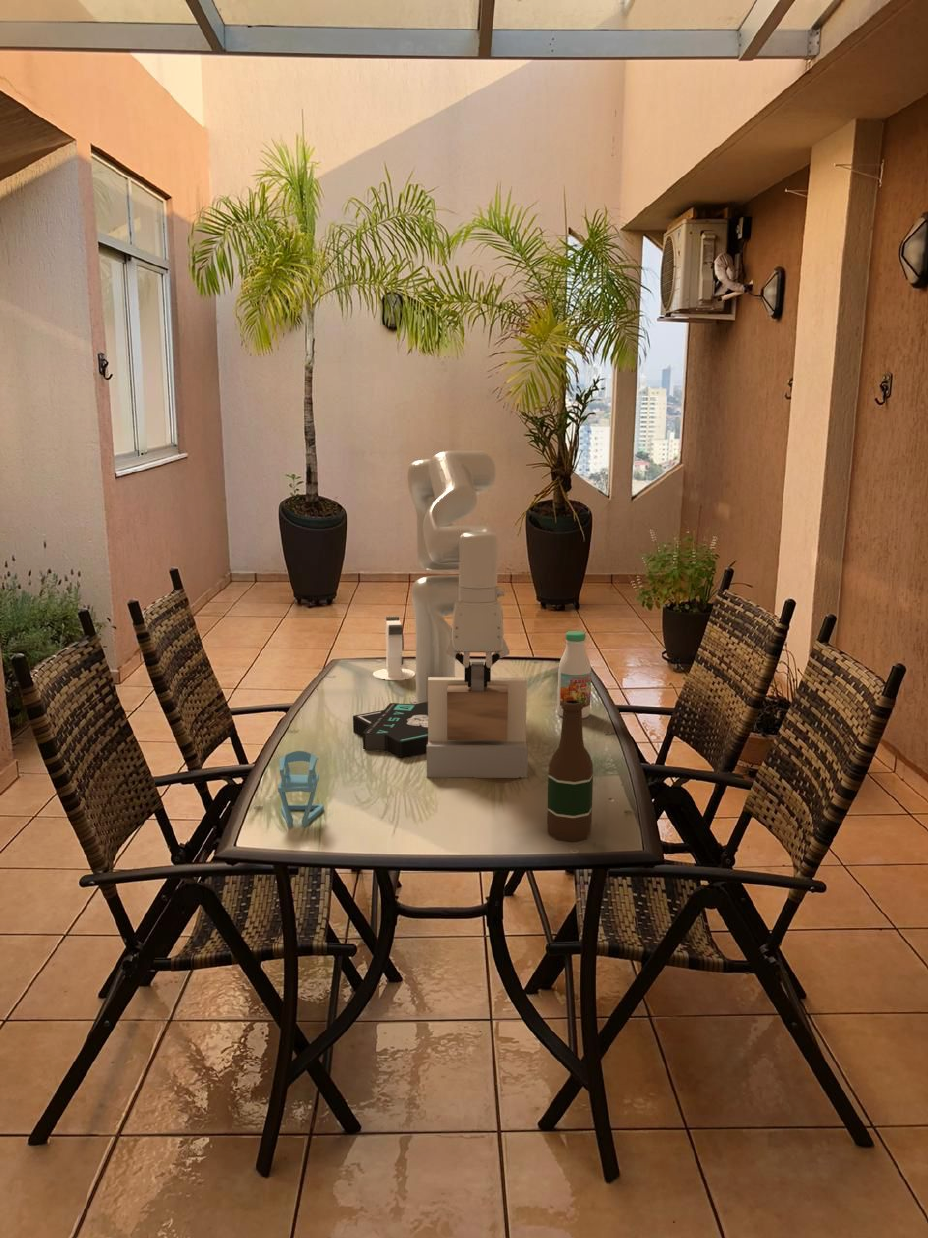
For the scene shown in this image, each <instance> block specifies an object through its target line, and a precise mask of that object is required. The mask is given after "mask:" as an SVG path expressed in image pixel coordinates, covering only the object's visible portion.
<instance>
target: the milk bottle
mask: <svg viewBox="0 0 928 1238" xmlns="http://www.w3.org/2000/svg"><path fill="white" fill-rule="evenodd" d="M586 635H587V634H586V633H585V632H584V631H580V630H570V631H569V630H568V631H567V632H566V633H565V642H566V645H565V649H564V652H563V654H562V656H561V658H560V661H559V663H558V664H559V665H558V671H557V672H558V673H557V701H556V702H557V704H556V705H557V709H556V711H557V712H556V713H557V715H558V716H560V717H562V718H563V709H562V708H561V707H562V704H563V702H564V701H565V700H570V699H573V700H578V701H581V702H582V703H583V709H582V719H585V718H587V717H589V716H590V713H591V692H592V689H591V688H592V686H591V685H592V667H591V661H590V659H589V656H588V654H587V652H586V649H585V648H586V647H585V643H586Z"/></svg>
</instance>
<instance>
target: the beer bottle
mask: <svg viewBox="0 0 928 1238" xmlns="http://www.w3.org/2000/svg"><path fill="white" fill-rule="evenodd" d="M561 708H562V709H563V717H562V718H561V732H560V733H561V734H560V740H559V745H558V748H557V749H556V750H555V751H554V753H553V755H552V757H551V760H550V761H549V765H548V774H547V775H548V776H547V812H546V813H547V814H546V815H547V818H546V819H547V821H546V824H547V833H548V835H549V836H551V837H552V838H553V839H555V840H556V841H563V842H570V843H576V842H579V841H584V840H587V838H588V837H589V835H590V833H591V831H592V822H593V821H592V819H593V816H592V815H593V791H594V790H593V788H594V785H593V784H594V767H593V764H594V763H593V761H592V757H591V754H590V753H589V752H588V750H587V749H586V747H585V743H584V739H583V738H584V737H583V735H584V734H583V718H582V709H583V703H582V702H581V701H578V700H573V699H570V700H565V701H564V702H563V704H562V707H561Z"/></svg>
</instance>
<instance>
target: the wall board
mask: <svg viewBox="0 0 928 1238" xmlns="http://www.w3.org/2000/svg"><path fill="white" fill-rule="evenodd" d="M464 680H465V676H464V677H463V676H462V677H461V676H460V677H456V676H455V677H428V745H427V753H426V778H450V777H474V778H475V779H476V778H479V779H481V778H485V779H486V778H487V779H488V778H490V779H528V763H529V762H528V757H529V756H528V755H529V749H528V748H529V747H528V746H529V745H527V701H528V700H527V697H528V696H527V694H528V692H527V690H528V689H527V688H528V687H527V686H528V684H527V683H528V681H527V680H528V678H527V677H491V682H487V685H507V688H508V730H507V740H447V688H448V685H468V682H465V681H464ZM519 777H521V778H519ZM524 777H526V778H524Z"/></svg>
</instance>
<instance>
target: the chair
mask: <svg viewBox="0 0 928 1238" xmlns="http://www.w3.org/2000/svg"><path fill="white" fill-rule="evenodd" d="M318 760H319V758H318V756H316V755H315V754H313V753H310V752H308V751H304V750H296V751H291V752H289V753H287V754H285V755H283V756H282V757H280V758H279V759H278V764H279V765H278V766H279V775H280V778H281V779H280V783H279V785H278V787H277V790H278V791H277V792H278V793H279V795H280V796H279V797H280V799H281V803H282V804H281V805H280V808H281V809H280V810H281V814H282V815H283V818H284V820H285V822H286V825H287V827H288V828H293V826H294V820H293V816H292V813H291V811H303V810H304V812H303V815H302V819H301V827H302V828H307V827H308V825H309V824H311V822H312V821H313V820H314V819H316V818H317V817H318V816H319V815H320V814H321V813H322V812H323V811H324V804H321V803H320V804H313V803H314V799H315V795H316V791H317V786H318V782H319V779H320V776H319V775H320V773H319V774H317V773H316V765H317V762H318ZM293 762H307V763H309V768H308V774H291V772H290V771H291V770H290V766H289V763H293ZM291 792H293V793H294V792H297V793H298V792H301V793H309V798H308V801H307V803H306V804H289V801H288V799H287V795H286V793H291ZM311 810H312V811H311Z"/></svg>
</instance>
